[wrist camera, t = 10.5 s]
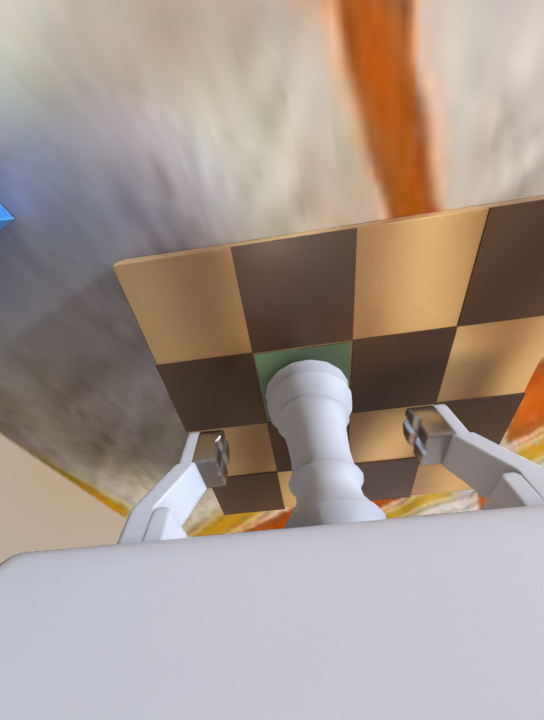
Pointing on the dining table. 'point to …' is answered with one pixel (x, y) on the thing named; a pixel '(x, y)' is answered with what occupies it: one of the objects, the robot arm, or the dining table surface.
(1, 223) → the perfume bottle
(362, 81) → the dining table surface
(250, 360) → the chessboard
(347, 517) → the rook chess piece
